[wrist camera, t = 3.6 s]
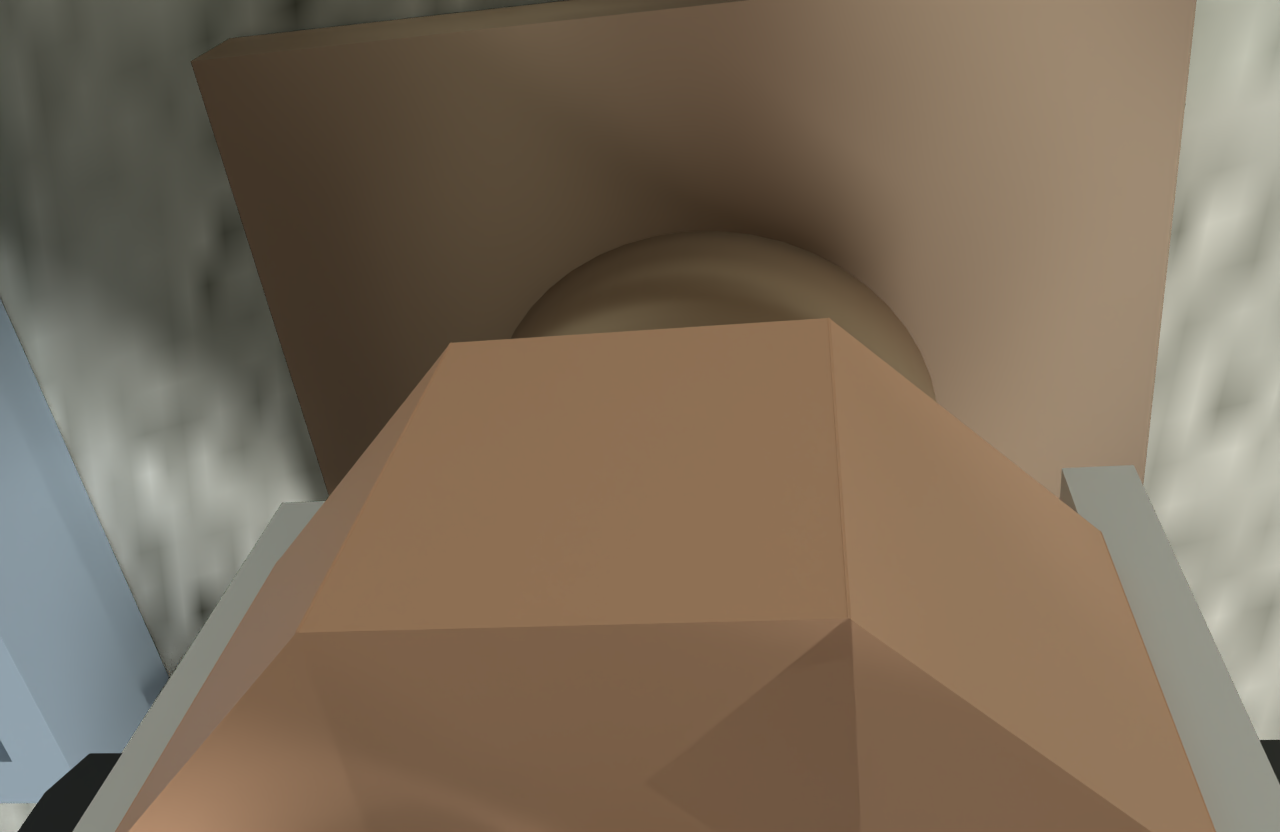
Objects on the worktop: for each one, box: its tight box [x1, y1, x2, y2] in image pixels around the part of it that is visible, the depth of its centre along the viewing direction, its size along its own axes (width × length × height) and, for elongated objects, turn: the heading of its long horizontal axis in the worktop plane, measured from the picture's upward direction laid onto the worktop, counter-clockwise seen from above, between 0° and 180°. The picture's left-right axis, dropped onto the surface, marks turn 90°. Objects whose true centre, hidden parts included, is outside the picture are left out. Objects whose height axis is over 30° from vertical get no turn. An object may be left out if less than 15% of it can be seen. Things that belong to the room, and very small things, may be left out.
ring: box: [115, 317, 1216, 832], centre depth 11 cm, size 8×8×4 cm
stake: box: [191, 0, 1196, 499], centre depth 13 cm, size 12×12×12 cm
